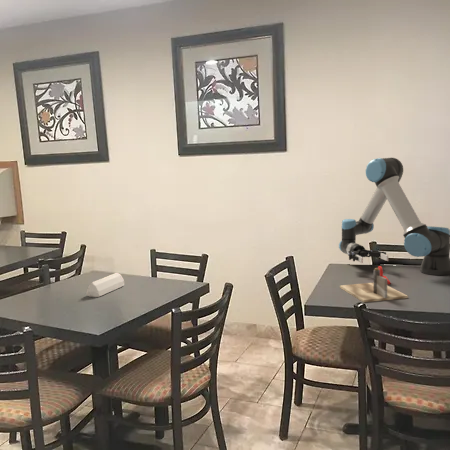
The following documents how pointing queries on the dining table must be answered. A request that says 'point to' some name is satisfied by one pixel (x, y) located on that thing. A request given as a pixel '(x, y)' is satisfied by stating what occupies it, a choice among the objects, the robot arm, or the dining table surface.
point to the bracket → (382, 274)
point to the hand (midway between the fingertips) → (375, 259)
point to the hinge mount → (373, 290)
